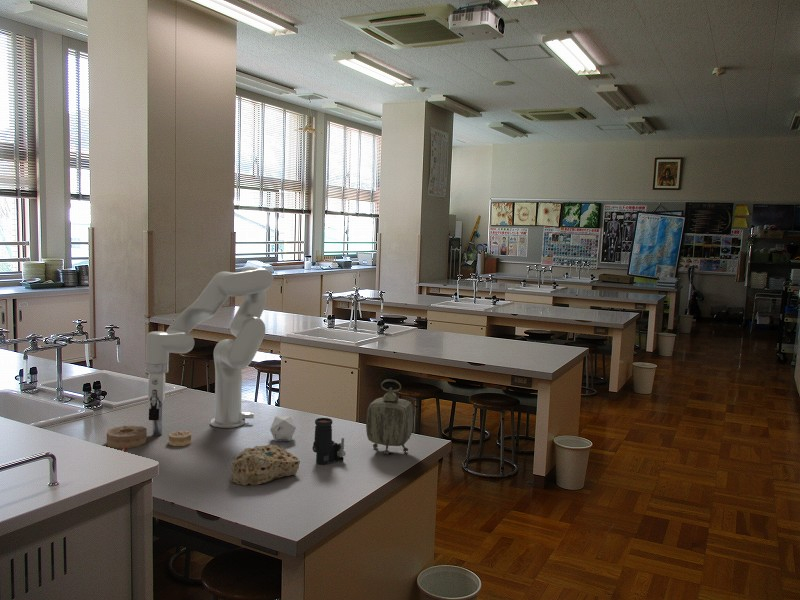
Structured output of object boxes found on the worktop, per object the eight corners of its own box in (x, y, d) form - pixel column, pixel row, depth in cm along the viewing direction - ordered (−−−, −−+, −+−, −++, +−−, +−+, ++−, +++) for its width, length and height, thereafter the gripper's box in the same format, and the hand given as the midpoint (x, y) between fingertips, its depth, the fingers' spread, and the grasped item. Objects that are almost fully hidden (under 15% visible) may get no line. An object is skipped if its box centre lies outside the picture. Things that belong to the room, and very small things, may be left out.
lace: (125, 448, 210) (125, 446, 210) (121, 457, 201) (121, 455, 201) (123, 448, 210) (123, 446, 209) (119, 457, 201) (119, 455, 201)
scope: (347, 419, 205) (323, 425, 197) (345, 461, 206) (322, 469, 199) (329, 413, 210) (305, 419, 202) (328, 455, 211) (304, 462, 204)
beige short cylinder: (191, 438, 222) (191, 430, 221) (190, 445, 215) (190, 436, 215) (169, 439, 220) (169, 431, 219) (168, 446, 213) (168, 437, 213)
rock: (273, 464, 204) (281, 435, 202) (301, 487, 195) (310, 457, 193) (217, 473, 188) (225, 442, 187) (244, 499, 179) (253, 467, 178)
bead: (147, 435, 223) (147, 424, 222) (144, 447, 211) (144, 435, 211) (110, 437, 219) (110, 426, 219) (104, 449, 208) (104, 437, 208)
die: (264, 440, 225) (265, 423, 219) (278, 422, 232) (280, 405, 225) (285, 451, 224) (287, 434, 217) (299, 433, 230) (301, 416, 223)
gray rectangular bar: (162, 433, 227) (162, 399, 225) (161, 435, 223) (162, 402, 222) (152, 433, 226) (152, 399, 224) (151, 436, 223) (151, 402, 221)
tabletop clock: (412, 451, 218) (415, 379, 216) (405, 460, 210) (408, 384, 207) (371, 446, 222) (374, 374, 220) (363, 454, 214) (365, 380, 211)
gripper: (166, 372, 215) (164, 423, 216) (170, 363, 231) (168, 409, 233) (142, 372, 213) (140, 423, 214) (147, 362, 229) (145, 409, 231)
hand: (154, 416), depth 223 cm, fingers open, 9 cm apart
